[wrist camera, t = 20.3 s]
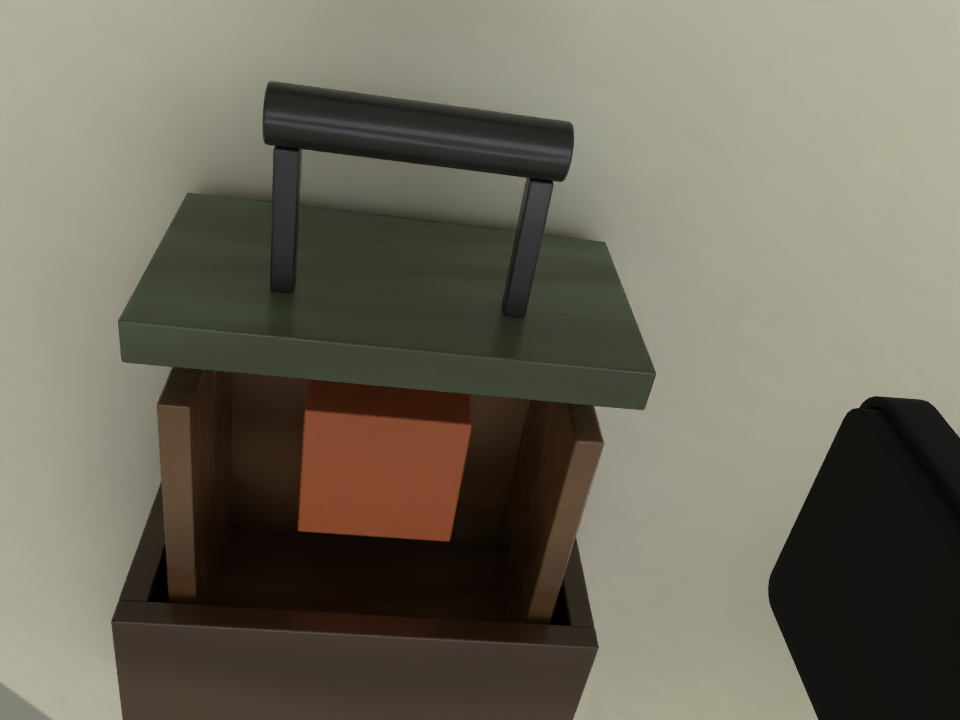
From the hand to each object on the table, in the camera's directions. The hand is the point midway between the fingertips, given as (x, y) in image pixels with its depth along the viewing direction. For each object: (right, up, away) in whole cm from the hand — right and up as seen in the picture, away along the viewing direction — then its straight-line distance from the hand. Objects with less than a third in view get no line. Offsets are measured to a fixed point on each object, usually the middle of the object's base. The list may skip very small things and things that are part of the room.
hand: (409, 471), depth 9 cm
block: (-2, 0, +20) cm, 20 cm away
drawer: (-2, +2, +20) cm, 20 cm away
